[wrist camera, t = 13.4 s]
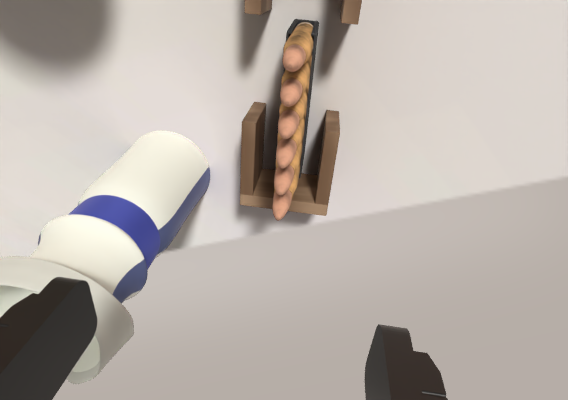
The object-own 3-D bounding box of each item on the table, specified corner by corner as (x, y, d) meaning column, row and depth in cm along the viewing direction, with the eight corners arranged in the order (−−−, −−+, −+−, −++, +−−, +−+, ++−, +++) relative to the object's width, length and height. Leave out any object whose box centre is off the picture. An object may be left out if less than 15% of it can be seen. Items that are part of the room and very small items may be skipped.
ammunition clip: (304, 154, 33) (291, 234, 23) (283, 152, 33) (261, 230, 23) (319, 21, 28) (311, 47, 18) (294, 18, 28) (271, 43, 18)
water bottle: (210, 218, 38) (51, 533, 16) (126, 195, 38) (-147, 486, 16) (223, 144, 34) (33, 440, 12) (129, 118, 33) (-236, 373, 12)
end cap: (338, 111, 31) (339, 133, 27) (326, 186, 35) (326, 215, 30) (254, 101, 31) (242, 121, 27) (251, 176, 35) (239, 204, 31)
